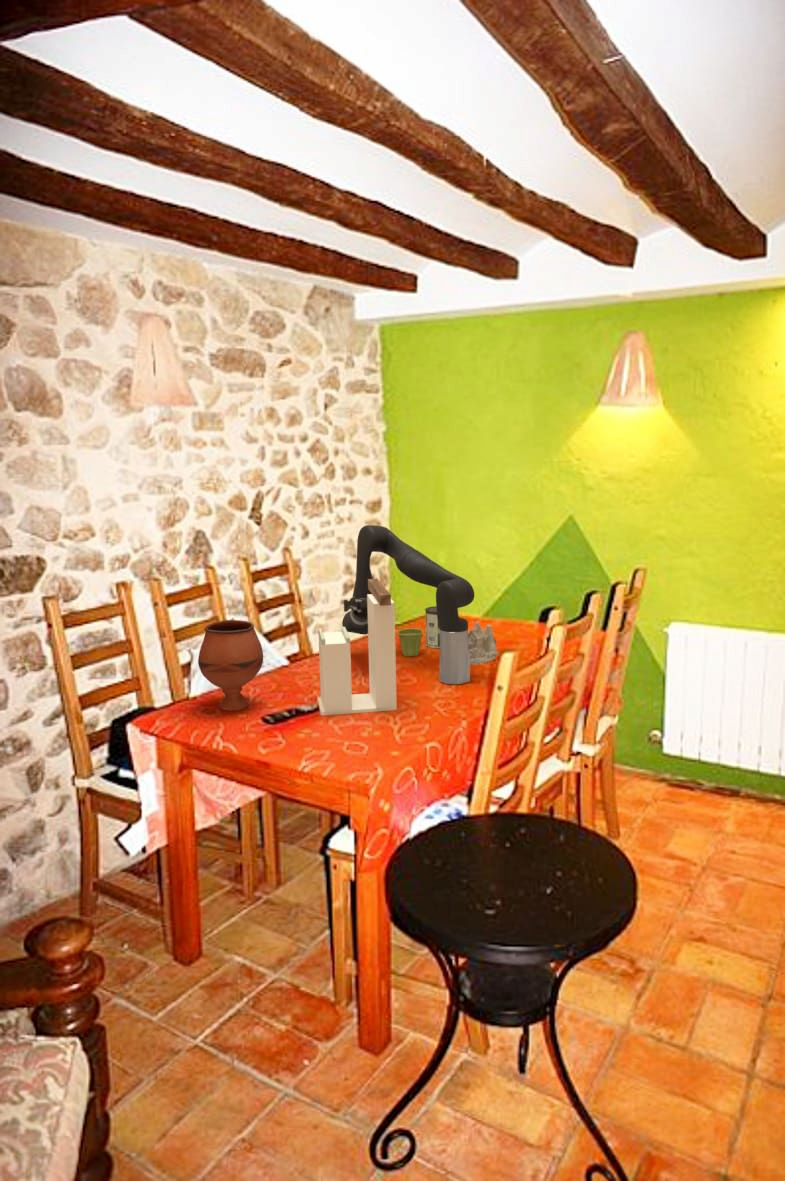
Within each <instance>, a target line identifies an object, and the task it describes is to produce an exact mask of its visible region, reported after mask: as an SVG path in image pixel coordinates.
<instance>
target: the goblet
mask: <svg viewBox="0 0 785 1181" xmlns="http://www.w3.org/2000/svg"><path fill="white" fill-rule="evenodd" d="M204 631H205V632H204V637H203V640H202V643H201V646H200V650H199V654H198V660H197V663H198V668H199V670H200V672H201V674H202V675H203V677H204V678H205V679H206V680H207V681H208V682H209V683H210V684H212V685H214V686H216V687H217V688H220V689H221V691H222V693H223V694H224V697H223V698H222V700H221V701H220V703H219V705H218V706H219V708H220V709H221V710H224V711H229V712H231V711H240V710H243V709H246V708H247V707H249V700H248V699H247V698H246V697H245V696H244V695H243V694H242V693H241V692H242V691H243V687H244V686H246V685H247V684H249V683H250V682H251V681H252V680H253V679H255V677H256V676H257V675H258V673H259V671H260V670H261V668H262V666H263V663H264V651H263V648H262V643H261V641H260V639H259V636H258V634H257V632H256V630H255V625H254V624H253V623H252V622H250V621H247V620H239V619H224V620H219V621H216V622H212V623H209V624H207V625H205V627H204Z"/></svg>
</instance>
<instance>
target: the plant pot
mask: <svg viewBox="0 0 785 1181" xmlns="http://www.w3.org/2000/svg"><path fill="white" fill-rule="evenodd" d="M396 633H397V634H398V637H399V642H400V646H401V654H402V655H403V656H404V657H416V656H419V655H420V649H421V642H422V637H423V634H424V630H423V629H420V628H403V629H400V630H397V632H396Z"/></svg>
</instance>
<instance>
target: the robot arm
mask: <svg viewBox="0 0 785 1181" xmlns="http://www.w3.org/2000/svg"><path fill="white" fill-rule="evenodd" d="M356 541H357V542H356V543H357V545H356V567H355V568H356V569H355V570H356V572H355V581H354V587H353V591H352V592H353V593H352V597H351V598H350V599H349V600H348V599H344V600H343V612H344V613H345V612H346V613H345V614H344V616H343V617H342V618H343V619H342V620H341V624H342V626H341V627H345V628H346V630H347V632H348V633H353V634H356V635H357V634H358V635H363V636H364V635H368V608H367V594H372V593H371V592H370V591H369V589H368V579H374V578H373V574H372V570H371V557H372V554H373V552H375V553H382V554H384V555H386V556H389V557H390V558H391V559H393V560H394V562H395V565H396V568H397V570H398V571H399V572H400V573H402V574H403V575H404V576H405V577H407V578H409V579H410V580H412V581H414V582H416V583H419V584H421V585H426V586H428V587H434V588H436V592H435V606H436V608H437V619H438V622H439V629H440V648H439V681H440V682H441V683H443V684H446V685H447V684H448V685H461V684H465V683H471V664H470V653H469V652H468V633H469V621H468V620H467V619H466V618H463V617H460V616H459V609H460V608H463V607H467V606H468V605H471V603H472V602H473V601H474V599H475V590H474V587H473V586H472V584H471V583H470V581H468V580H467V579H465V578H463V577H462V576H459V575H457V574H455V573H454V572H451V571H450V570H448V569H446V568H444V567H443V566H442V565H439V563H437V562H436V561H434V560H432V559H430V558H429V557H427V556H426V555H425V554H424V553H422V552H420V551H419V550H417V549H416V548H414V547H412V546H411V545H409V544H408V543H406V542H405V541H403V540H401V539H400V538H399V537H398V536H397V535H396V534H395V533H394V532H392V530H390V529H389V528H387V527H386V526H383V525H374V524H371V525H370V524H368V525H364V526H362V527H361V528H360V530H359V532H358V535H357V540H356Z"/></svg>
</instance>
